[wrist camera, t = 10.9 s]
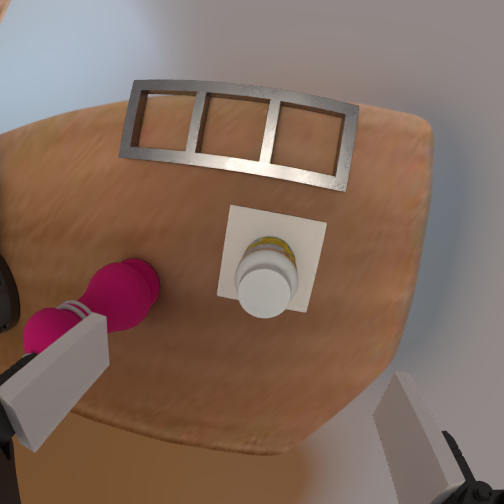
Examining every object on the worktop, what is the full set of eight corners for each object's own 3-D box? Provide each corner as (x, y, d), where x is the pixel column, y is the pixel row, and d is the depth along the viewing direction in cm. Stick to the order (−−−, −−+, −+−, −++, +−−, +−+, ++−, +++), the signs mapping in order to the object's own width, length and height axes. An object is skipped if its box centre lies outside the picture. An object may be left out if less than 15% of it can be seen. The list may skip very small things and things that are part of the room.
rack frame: (126, 158, 31) (118, 157, 29) (140, 84, 29) (134, 80, 27) (341, 191, 30) (345, 192, 28) (355, 110, 27) (359, 105, 26)
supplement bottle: (247, 231, 31) (231, 253, 22) (299, 238, 31) (306, 263, 21) (241, 281, 32) (225, 320, 23) (291, 288, 32) (294, 330, 22)
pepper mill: (109, 298, 35) (2, 381, 16) (116, 246, 33) (-12, 307, 14) (158, 319, 35) (67, 427, 16) (169, 265, 33) (57, 354, 14)
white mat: (217, 293, 33) (216, 295, 33) (231, 204, 31) (230, 204, 30) (305, 310, 33) (306, 312, 32) (326, 222, 30) (327, 223, 30)
